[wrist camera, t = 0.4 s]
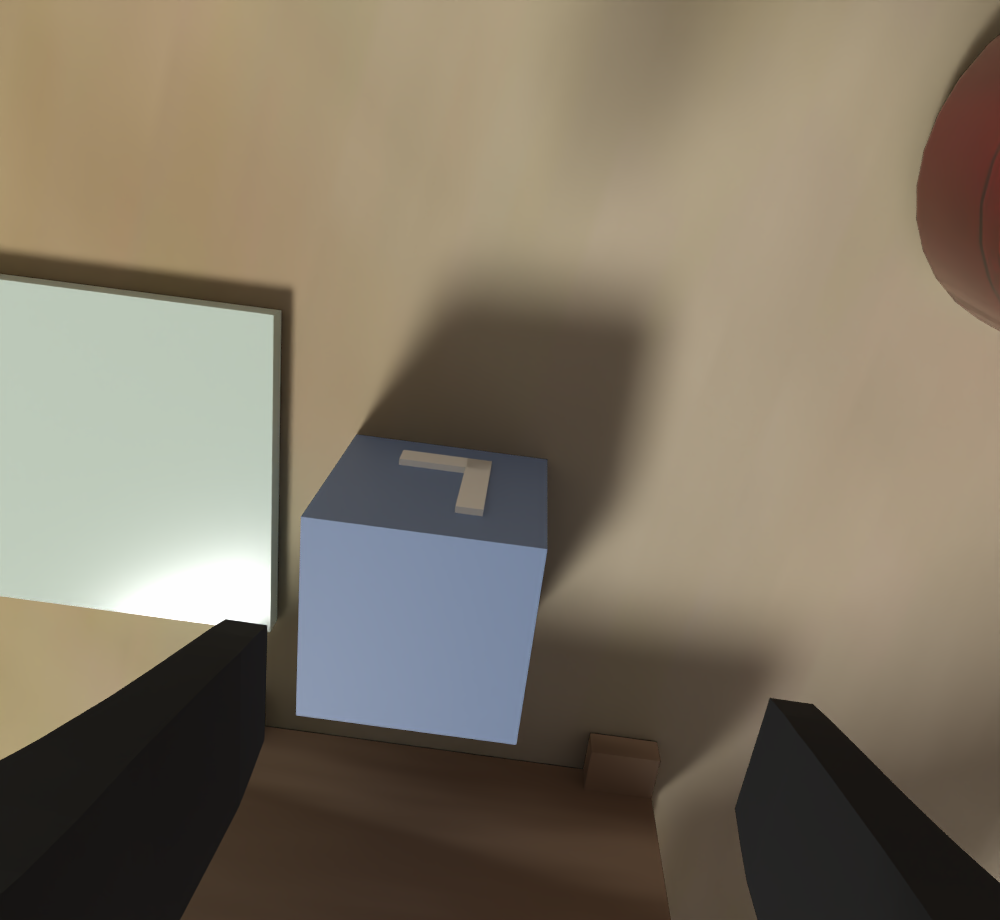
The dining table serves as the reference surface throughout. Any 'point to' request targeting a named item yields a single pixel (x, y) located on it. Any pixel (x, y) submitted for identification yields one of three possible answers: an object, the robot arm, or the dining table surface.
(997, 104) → the soda can
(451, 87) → the dining table surface
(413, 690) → the cube
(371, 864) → the brown wooden bar
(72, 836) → the robot arm
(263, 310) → the tile
